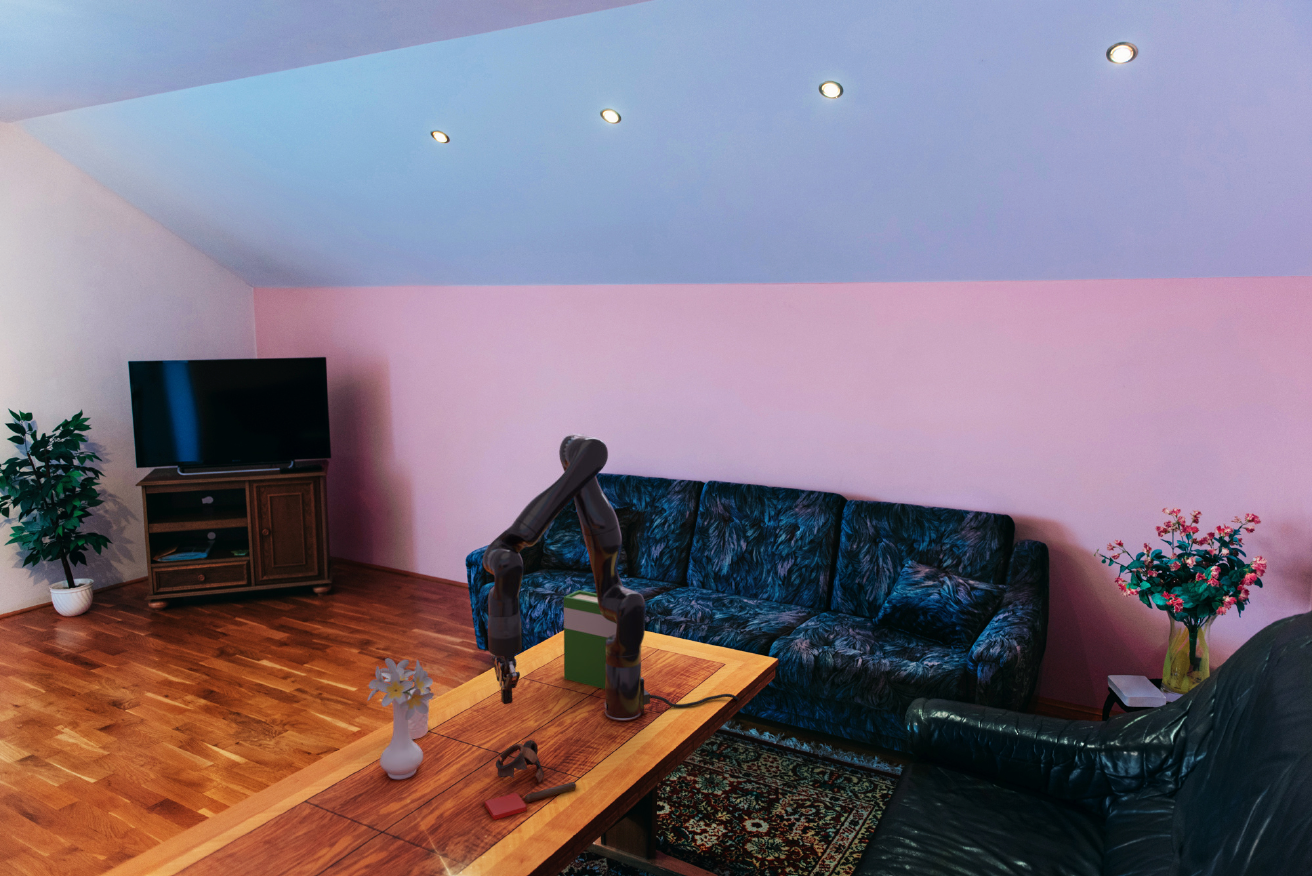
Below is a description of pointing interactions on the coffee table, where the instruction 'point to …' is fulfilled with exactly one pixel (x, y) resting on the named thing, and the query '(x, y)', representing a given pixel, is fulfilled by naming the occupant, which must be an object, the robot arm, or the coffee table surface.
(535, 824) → the coffee table surface
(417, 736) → the white cup
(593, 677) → the hardback book
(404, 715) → the flower vase
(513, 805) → the spatula
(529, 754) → the dark brown curved piece
